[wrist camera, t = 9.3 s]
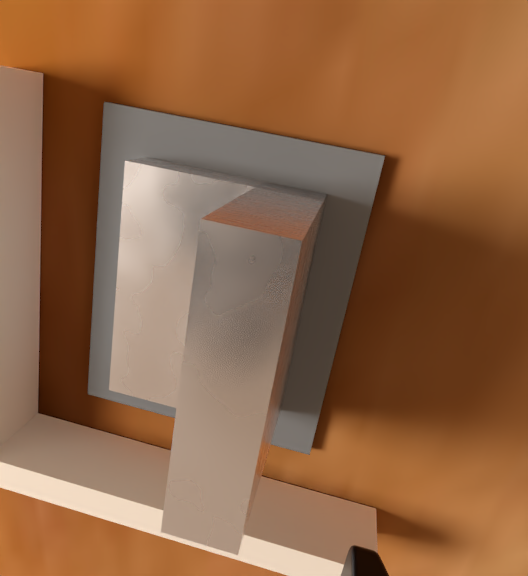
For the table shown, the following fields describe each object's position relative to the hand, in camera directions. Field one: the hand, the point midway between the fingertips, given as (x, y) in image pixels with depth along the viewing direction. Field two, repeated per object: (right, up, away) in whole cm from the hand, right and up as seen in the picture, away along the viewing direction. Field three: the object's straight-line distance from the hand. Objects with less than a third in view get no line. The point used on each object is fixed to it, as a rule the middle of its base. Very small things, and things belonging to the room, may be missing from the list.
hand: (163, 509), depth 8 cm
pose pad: (0, +4, +9) cm, 10 cm away
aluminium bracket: (0, +4, +9) cm, 10 cm away
